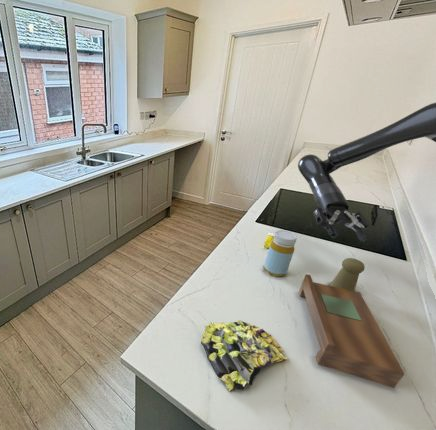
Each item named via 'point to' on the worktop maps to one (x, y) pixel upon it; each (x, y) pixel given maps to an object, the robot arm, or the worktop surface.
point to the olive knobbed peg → (348, 274)
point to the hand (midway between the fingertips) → (349, 238)
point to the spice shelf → (349, 334)
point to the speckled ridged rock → (239, 351)
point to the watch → (269, 240)
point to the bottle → (280, 253)
